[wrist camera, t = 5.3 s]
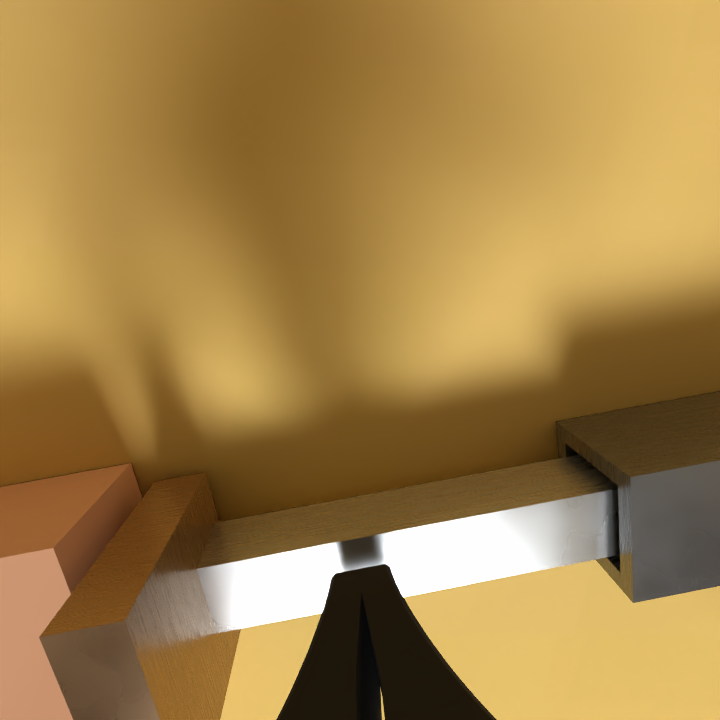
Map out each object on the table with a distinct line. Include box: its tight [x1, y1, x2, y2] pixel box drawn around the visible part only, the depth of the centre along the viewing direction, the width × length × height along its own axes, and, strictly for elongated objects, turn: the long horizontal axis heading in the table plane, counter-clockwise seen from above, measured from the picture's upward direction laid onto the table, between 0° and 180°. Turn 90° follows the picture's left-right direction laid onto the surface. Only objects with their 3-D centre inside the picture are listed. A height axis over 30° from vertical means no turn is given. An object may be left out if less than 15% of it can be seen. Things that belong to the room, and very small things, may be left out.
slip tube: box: [39, 454, 620, 720], centre depth 11 cm, size 19×5×6 cm, turn 100°
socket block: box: [0, 463, 142, 720], centre depth 12 cm, size 6×6×4 cm
